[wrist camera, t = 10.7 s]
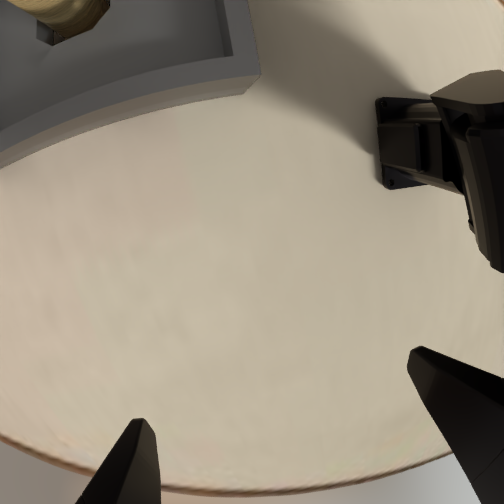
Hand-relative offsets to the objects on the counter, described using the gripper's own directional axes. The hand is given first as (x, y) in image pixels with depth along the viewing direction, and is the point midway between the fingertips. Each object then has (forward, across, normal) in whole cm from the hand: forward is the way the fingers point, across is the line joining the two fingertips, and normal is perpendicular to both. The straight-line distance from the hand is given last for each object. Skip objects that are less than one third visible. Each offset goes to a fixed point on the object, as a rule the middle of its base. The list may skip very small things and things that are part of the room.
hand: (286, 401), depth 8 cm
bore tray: (+12, +7, -18) cm, 23 cm away
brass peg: (+12, +7, -18) cm, 23 cm away
